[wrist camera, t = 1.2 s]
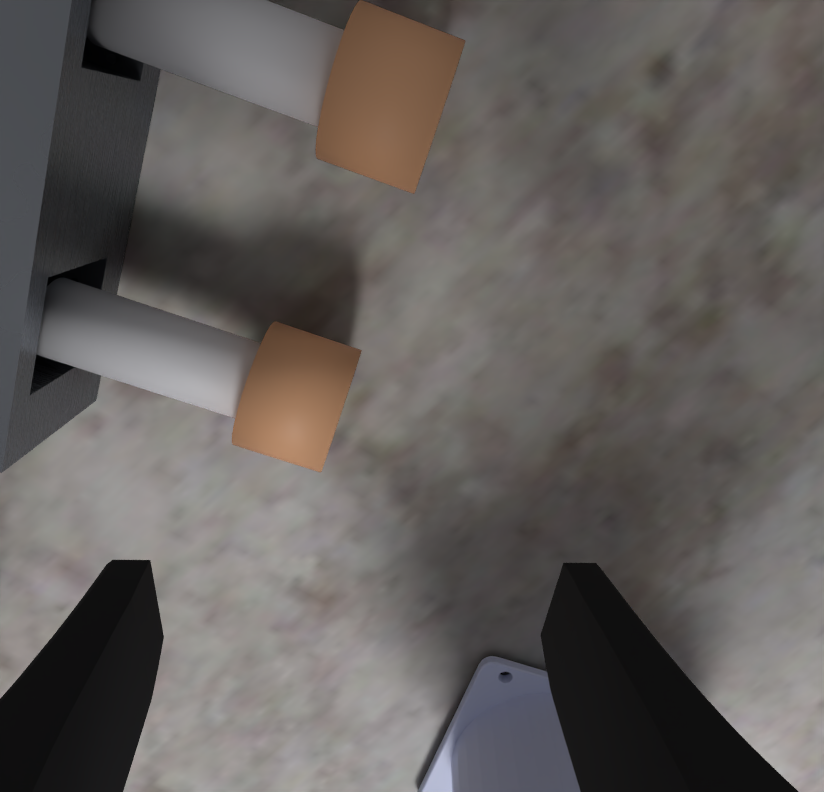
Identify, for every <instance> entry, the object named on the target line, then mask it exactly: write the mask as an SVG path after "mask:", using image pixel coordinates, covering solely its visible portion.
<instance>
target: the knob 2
mask: <svg viewBox="0 0 824 792" xmlns="http://www.w3.org/2000/svg"><path fill="white" fill-rule="evenodd" d="M361 351H362V350H359V349H356V348H353V347H350V346H347V345H344V344H342V343H339V342H336V341H333V340H330V339H327V338H324V337H321V336H318V335H315V334H312V333H309V332H306V331H303V330H300V329H297V328H294V327H291V326H288V325H285V324H282V323H279V322H276V321H274V322H273V323H272V324H271V325H270V327H269V329H268V330H267V332H266V334H265V336H264V338H263V340H262V342H261V343H259V342H256V341H253V340H250V339H247V338H244V337H241V336H238V335H235V334H232V333H229V332H226V331H223V330H220V329H217V328H214V327H211V326H208V325H205V324H202V323H199V322H196V321H193V320H190V319H187V318H184V317H181V316H178V315H175V314H172V313H169V312H166V311H163V310H160V309H157V308H154V307H151V306H148V305H145V304H142V303H139V302H136V301H133V300H130V299H127V298H124V297H121V296H118V295H115V294H112V293H109V292H106V291H103V290H100V289H97V288H94V287H91V286H88V285H85V284H82V283H79V282H76V281H73V280H70V279H67V278H64V277H61V278H58V279H55V280H54V281H53V282H51V283H50V284H49V285H48V286H47V289H46V295H45V301H44V308H43V314H42V320H41V327H40V333H39V339H38V346H37V352H36V355H39V356H42V357H45V358H48V359H51V360H55V361H58V362H61V363H64V364H67V365H70V366H73V367H76V368H80V369H83V370H86V371H89V372H92V373H95V374H98V375H101V376H105V377H108V378H111V379H114V380H117V381H120V382H123V383H126V384H130V385H133V386H136V387H139V388H142V389H145V390H148V391H151V392H155V393H158V394H161V395H164V396H167V397H170V398H173V399H176V400H179V401H183V402H186V403H189V404H192V405H195V406H198V407H201V408H204V409H208V410H211V411H214V412H217V413H220V414H223V415H226V416H229V417H233V418H235V422H234V427H233V433H232V444H233V445H236V446H239V447H242V448H245V449H248V450H251V451H255V452H258V453H261V454H264V455H267V456H270V457H274V458H277V459H280V460H283V461H286V462H289V463H293V464H296V465H299V466H302V467H305V468H308V469H312V470H315V471H318V472H321V471H322V468H323V466H324V463H325V460H326V457H327V454H328V451H329V448H330V445H331V442H332V439H333V436H334V433H335V430H336V427H337V424H338V421H339V418H340V415H341V412H342V409H343V406H344V403H345V400H346V397H347V394H348V391H349V388H350V385H351V382H352V379H353V376H354V373H355V370H356V367H357V363H358V360H359V357H360V354H361Z"/></svg>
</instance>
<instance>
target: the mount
mask: <svg viewBox="0 0 824 792" xmlns="http://www.w3.org/2000/svg"><path fill="white" fill-rule="evenodd" d="M91 2H92V0H0V472H1V473H2V472H3V471H5V470H6V469H7V468H9V467H10V466H11V465H13V464H14V463H15V462H17V461H18V460H19V459H20V458H22V457H23V456H24V455H26V454H27V453H28V452H30V451H31V450H32V449H33V448H35V447H36V446H37V445H39V444H40V443H41V442H43V441H44V440H45V439H46V438H48V437H49V436H50V435H52V434H53V433H54V432H56V431H57V430H58V429H59V428H61V427H62V426H63V425H65V424H66V423H67V422H69V421H70V420H71V419H73V418H74V417H75V416H76V415H78V414H79V413H80V412H82V411H83V410H84V409H86V408H87V407H88V406H89V405H91V404H92V403H93V402H95V401H96V398H97V393H98V388H99V383H100V377H101V375H98V374H95V373H92V372H89V371H86V370H83V369H80V368H76V367H73V366H70V365H67V364H64V363H61V362H58V361H55V360H51V359H48V358H45V357H42V356H39V355H36V352H37V346H38V339H39V333H40V327H41V320H42V314H43V308H44V301H45V295H46V289H47V286H48V285H49V284H50V283H51V282H53V281H54V280H55V279H58V278H61V277H64V278H67V279H70V280H73V281H76V282H79V283H82V284H85V285H88V286H91V287H94V288H97V289H100V290H103V291H106V292H109V293H112V294H115V295H117V290H118V285H119V280H120V275H121V270H122V265H123V260H124V254H125V249H126V244H127V239H128V234H129V229H130V224H131V218H132V213H133V208H134V203H135V198H136V193H137V188H138V183H139V177H140V172H141V167H142V162H143V157H144V152H145V147H146V142H147V136H148V131H149V126H150V121H151V116H152V111H153V106H154V101H155V95H156V90H157V85H158V80H159V75H160V70H161V69H159V68H157V67H154V66H151V65H148V64H146V63H143V62H140V61H138V60H135V59H132V58H129V57H127V56H124V55H121V54H119V53H116V52H113V51H110V50H108V49H105V48H102V47H100V46H97V45H95V44H93V43H92V42H91V41H90V40H89V39H88V37H87V35H86V34H87V28H88V21H89V15H90V9H91Z"/></svg>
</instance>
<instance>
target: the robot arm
mask: <svg viewBox="0 0 824 792" xmlns="http://www.w3.org/2000/svg"><path fill="white" fill-rule="evenodd" d="M163 638H164V636H163V630H162V624H161V619H160V613H159V607H158V602H157V596H156V590H155V585H154V579H153V573H152V567H151V562H150V560H112V561H111V562H109V563H108V564H107V565H106V566H105V568H104V569H103V570H102V572H101V573H100V575H99V576H98V577H97V579H96V580H95V581H94V583H93V584H92V586H91V587H90V588H89V590H88V591H87V592H86V594H85V595H84V596H83V598H82V599H81V600H80V602H79V603H78V604H77V606H76V607H75V608H74V610H73V611H72V612H71V614H70V615H69V616H68V618H67V619H66V620H65V621H64V623H63V624H62V625H61V627H60V628H59V629H58V630H57V632H56V633H55V634H54V635H53V637H52V638H51V639H50V640H49V642H48V643H47V644H46V645H45V646H44V648H43V649H42V650H41V651H40V653H39V654H38V655H37V656H36V657H35V659H34V660H33V661H32V662H31V664H30V665H29V666H28V667H27V668H26V670H25V671H24V672H23V673H22V674H21V676H20V677H19V678H18V679H17V680H16V682H15V683H14V684H13V685H12V686H11V687H10V688H9V690H8V691H7V692H6V693H5V694H4V695H3V696H2V697H1V698H0V792H123V790H124V787H125V783H126V780H127V777H128V774H129V771H130V768H131V764H132V761H133V758H134V755H135V752H136V748H137V745H138V742H139V739H140V735H141V732H142V729H143V726H144V722H145V719H146V716H147V713H148V709H149V706H150V703H151V699H152V695H153V690H154V685H155V680H156V675H157V671H158V665H159V660H160V654H161V649H162V644H163ZM541 639H542V645H543V651H544V657H545V663H546V669H547V671H544V670H540V669H537V668H533V667H530V666H527V665H523V664H520V663H517V662H513V661H510V660H506V659H503V658H500V657H495V656H489V657H486V658H484V659H482V660H481V662H480V663H479V665H478V667H477V669H476V671H475V673H474V675H473V678H472V680H471V682H470V684H469V686H468V688H467V690H466V692H465V694H464V696H463V698H462V700H461V702H460V704H459V707H458V709H457V711H456V713H455V715H454V717H453V719H452V721H451V723H450V725H449V727H448V729H447V731H446V734H445V736H444V738H443V740H442V742H441V744H440V746H439V748H438V750H437V752H436V754H435V756H434V758H433V761H432V763H431V765H430V767H429V769H428V771H427V773H426V775H425V777H424V779H423V781H422V783H421V785H420V788H419V790H418V792H798V791H797V790H796V789H795V788H794V787H793V786H792V785H791V784H790V783H789V782H788V781H786V780H785V779H784V778H783V777H782V776H781V775H780V774H779V773H778V772H777V771H776V770H775V769H774V768H773V767H772V766H771V765H770V764H769V763H768V762H767V761H766V760H765V759H764V758H763V757H762V756H761V755H760V754H759V753H758V752H756V751H755V750H754V749H753V748H752V747H751V746H750V745H749V743H748V742H747V741H746V740H745V739H744V738H743V737H742V736H741V735H740V734H739V733H738V732H737V731H736V730H735V729H734V728H733V727H732V726H731V725H730V724H729V723H728V722H727V721H726V719H725V718H724V717H723V716H722V715H721V714H720V713H719V712H718V711H717V710H716V709H715V707H714V706H713V705H712V704H711V703H710V702H709V701H708V700H707V699H706V698H705V696H704V695H703V694H702V693H701V692H700V691H699V690H698V689H697V687H696V686H695V685H694V684H693V683H692V682H691V681H690V679H689V678H688V677H687V676H686V675H685V674H684V672H683V671H682V670H681V669H680V668H679V666H678V665H677V664H676V663H675V662H674V660H673V659H672V658H671V657H670V656H669V654H668V653H667V652H666V651H665V650H664V648H663V647H662V646H661V645H660V644H659V642H658V641H657V640H656V639H655V637H654V636H653V635H652V634H651V633H650V631H649V630H648V629H647V627H646V626H645V625H644V624H643V622H642V621H641V620H640V619H639V617H638V616H637V615H636V614H635V612H634V611H633V610H632V608H631V607H630V606H629V605H628V603H627V602H626V601H625V599H624V598H623V597H622V595H621V594H620V593H619V592H618V590H617V589H616V588H615V586H614V585H613V584H612V582H611V581H610V580H609V579H608V577H607V576H606V575H605V573H604V572H603V571H602V570H601V568H600V567H599V566H598V565H597V564H596V563H563V566H562V569H561V573H560V576H559V579H558V582H557V585H556V588H555V591H554V595H553V598H552V601H551V604H550V607H549V610H548V613H547V617H546V620H545V623H544V626H543V629H542V632H541ZM502 672H509V674H507V675H501V674H500V673H502Z"/></svg>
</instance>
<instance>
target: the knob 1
mask: <svg viewBox="0 0 824 792" xmlns="http://www.w3.org/2000/svg"><path fill="white" fill-rule="evenodd" d="M86 35H87V37H88V39H89V40H90V41H91V42H92V43H93V44H95V45H97V46H100V47H102V48H105V49H108V50H110V51H113V52H116V53H119V54H121V55H124V56H127V57H129V58H132V59H135V60H138V61H140V62H143V63H146V64H148V65H151V66H154V67H157V68H159V69H162V70H165V71H167V72H170V73H173V74H175V75H178V76H181V77H184V78H186V79H189V80H192V81H194V82H197V83H200V84H203V85H205V86H208V87H211V88H213V89H216V90H219V91H222V92H224V93H227V94H230V95H232V96H235V97H238V98H241V99H243V100H246V101H249V102H251V103H254V104H257V105H260V106H262V107H265V108H268V109H270V110H273V111H276V112H278V113H281V114H284V115H287V116H289V117H292V118H295V119H297V120H300V121H303V122H306V123H308V124H311V125H314V126H316V127H318V131H317V138H316V157H317V159H320V160H322V161H325V162H328V163H331V164H333V165H336V166H339V167H342V168H344V169H347V170H350V171H353V172H355V173H358V174H361V175H364V176H366V177H369V178H372V179H375V180H377V181H380V182H383V183H386V184H388V185H391V186H394V187H397V188H399V189H402V190H405V191H407V192H410V193H413V194H414V193H415V190H416V188H417V185H418V182H419V179H420V176H421V173H422V170H423V167H424V164H425V161H426V158H427V155H428V153H429V150H430V147H431V144H432V141H433V138H434V135H435V132H436V129H437V126H438V123H439V120H440V117H441V114H442V111H443V108H444V105H445V102H446V99H447V96H448V93H449V90H450V87H451V84H452V81H453V78H454V75H455V72H456V69H457V66H458V63H459V60H460V57H461V54H462V50H463V47H464V44H465V40H463V39H460V38H457V37H455V36H452V35H450V34H447V33H445V32H442V31H440V30H437V29H434V28H432V27H429V26H427V25H424V24H422V23H419V22H417V21H414V20H411V19H409V18H406V17H404V16H401V15H399V14H396V13H394V12H391V11H388V10H386V9H383V8H381V7H378V6H376V5H373V4H371V3H368V2H365V1H363V0H360V1H359V2H358V3H357V4H356V6H355V7H354V9H353V11H352V13H351V15H350V17H349V20H348V22H347V25H346V27H345V30H343V29H340V28H338V27H335V26H332V25H330V24H327V23H325V22H322V21H319V20H317V19H314V18H312V17H309V16H306V15H304V14H301V13H299V12H296V11H293V10H291V9H288V8H286V7H283V6H280V5H278V4H275V3H273V2H270V1H267V0H92V2H91V9H90V15H89V21H88V28H87V34H86Z"/></svg>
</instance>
